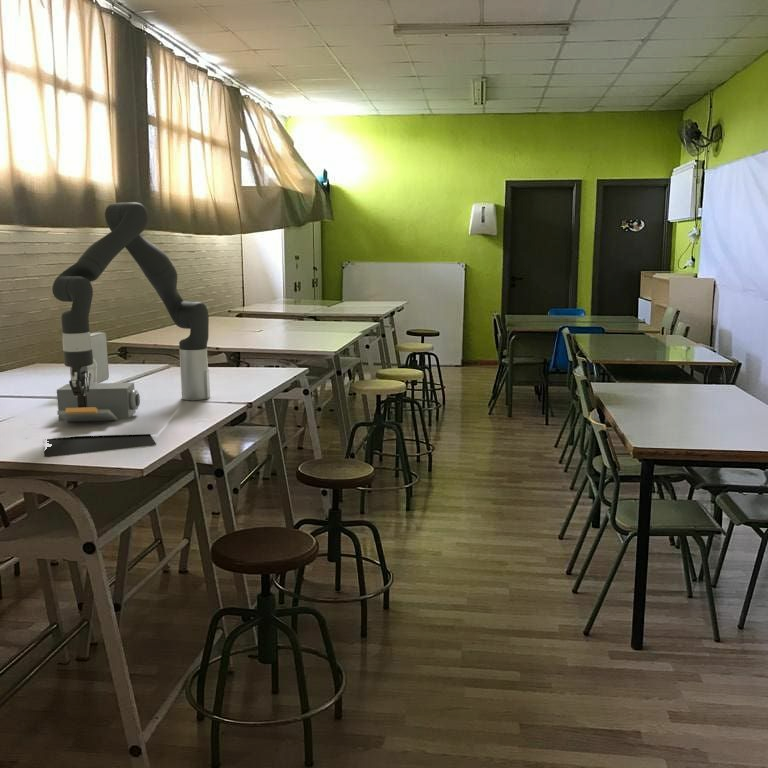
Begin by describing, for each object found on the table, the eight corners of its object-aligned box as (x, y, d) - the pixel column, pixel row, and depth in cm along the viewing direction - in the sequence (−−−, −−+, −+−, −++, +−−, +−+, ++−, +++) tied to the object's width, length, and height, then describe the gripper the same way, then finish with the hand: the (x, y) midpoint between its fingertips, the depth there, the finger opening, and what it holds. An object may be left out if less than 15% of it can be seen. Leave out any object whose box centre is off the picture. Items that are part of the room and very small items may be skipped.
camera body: (142, 414, 235) (141, 382, 233) (136, 421, 225) (134, 388, 224) (69, 416, 233) (66, 384, 231) (59, 423, 223) (56, 389, 221)
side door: (117, 417, 224) (106, 406, 211) (117, 421, 224) (106, 411, 211) (68, 418, 222) (54, 408, 210) (68, 422, 222) (54, 412, 209)
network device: (88, 395, 266) (84, 339, 263) (64, 395, 267) (60, 339, 263) (115, 383, 292) (111, 332, 288) (92, 383, 292) (89, 332, 288)
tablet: (147, 428, 214) (157, 444, 196) (147, 431, 214) (157, 447, 196) (43, 439, 203) (44, 457, 185) (43, 442, 203) (44, 460, 185)
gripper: (85, 351, 204) (90, 414, 207) (97, 344, 217) (102, 403, 220) (56, 352, 203) (62, 414, 206) (70, 345, 216) (76, 404, 219)
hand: (82, 408), depth 213 cm, fingers closed
